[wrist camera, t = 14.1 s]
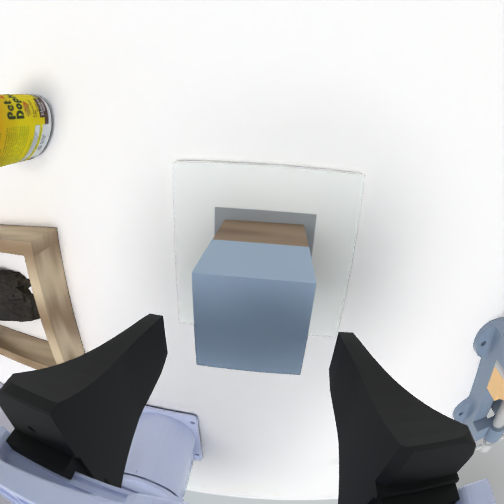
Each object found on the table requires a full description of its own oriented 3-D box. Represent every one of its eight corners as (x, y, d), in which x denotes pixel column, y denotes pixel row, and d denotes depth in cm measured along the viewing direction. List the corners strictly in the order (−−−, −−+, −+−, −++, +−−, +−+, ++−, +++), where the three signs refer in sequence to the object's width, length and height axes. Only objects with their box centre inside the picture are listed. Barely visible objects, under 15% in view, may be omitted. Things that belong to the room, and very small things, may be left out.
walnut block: (296, 294, 22) (298, 328, 18) (224, 289, 22) (212, 320, 18) (303, 224, 20) (308, 247, 16) (224, 219, 20) (211, 240, 16)
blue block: (297, 327, 18) (300, 374, 14) (212, 319, 18) (196, 364, 15) (309, 247, 16) (316, 283, 12) (212, 239, 16) (191, 272, 13)
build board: (334, 329, 24) (336, 337, 23) (183, 315, 24) (179, 323, 23) (360, 173, 19) (365, 175, 18) (177, 160, 20) (172, 162, 19)
